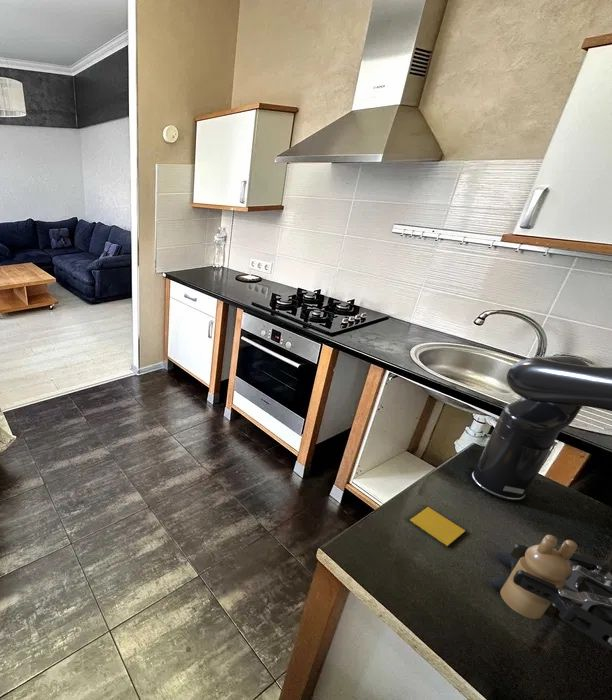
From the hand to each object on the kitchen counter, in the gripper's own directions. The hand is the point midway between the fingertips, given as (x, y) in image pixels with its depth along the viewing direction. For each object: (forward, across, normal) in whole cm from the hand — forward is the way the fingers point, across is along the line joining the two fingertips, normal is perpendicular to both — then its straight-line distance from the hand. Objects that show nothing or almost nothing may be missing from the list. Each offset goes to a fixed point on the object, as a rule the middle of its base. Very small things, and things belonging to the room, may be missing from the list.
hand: (514, 562), depth 54 cm
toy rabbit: (-3, 0, +6) cm, 7 cm away
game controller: (-6, -13, +15) cm, 20 cm away
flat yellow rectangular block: (+6, -19, +15) cm, 25 cm away
